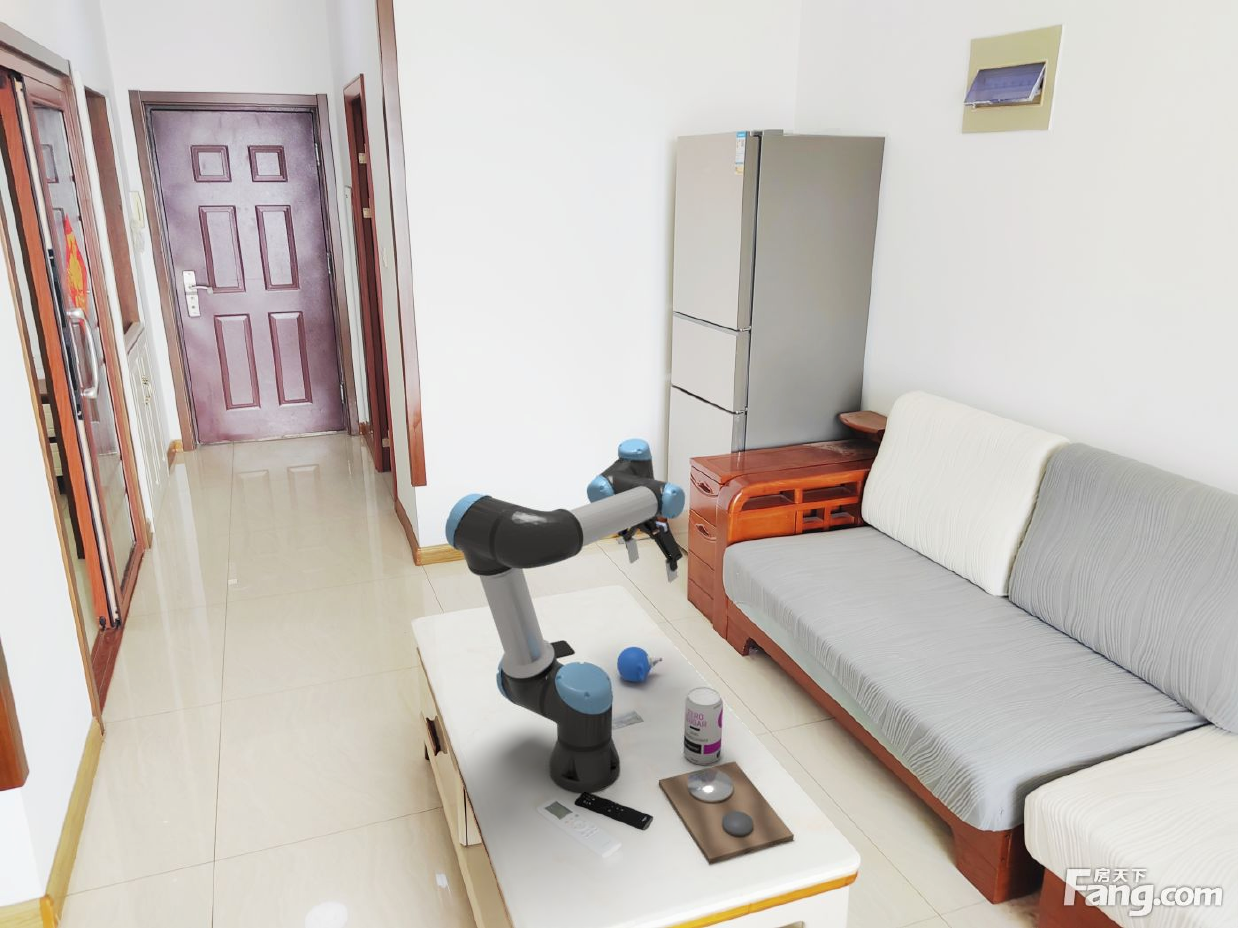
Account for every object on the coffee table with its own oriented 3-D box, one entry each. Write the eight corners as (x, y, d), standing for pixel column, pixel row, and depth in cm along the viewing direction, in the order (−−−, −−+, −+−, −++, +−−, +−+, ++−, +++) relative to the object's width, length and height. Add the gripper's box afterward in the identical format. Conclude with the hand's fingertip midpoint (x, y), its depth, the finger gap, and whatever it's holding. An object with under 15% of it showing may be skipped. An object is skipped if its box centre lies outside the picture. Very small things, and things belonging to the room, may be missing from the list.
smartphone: (564, 641, 243) (509, 654, 236) (564, 638, 243) (509, 651, 236) (576, 655, 236) (520, 668, 229) (576, 652, 236) (520, 665, 229)
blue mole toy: (670, 686, 221) (671, 656, 219) (625, 693, 218) (625, 663, 215) (654, 662, 232) (654, 633, 230) (610, 669, 229) (611, 640, 226)
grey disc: (730, 839, 168) (731, 835, 168) (716, 819, 174) (716, 815, 174) (758, 832, 171) (758, 827, 170) (743, 812, 176) (743, 807, 176)
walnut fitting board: (709, 863, 164) (709, 858, 164) (658, 784, 185) (658, 779, 185) (793, 839, 170) (793, 834, 170) (734, 765, 192) (735, 761, 191)
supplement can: (720, 744, 199) (723, 686, 194) (720, 767, 191) (723, 707, 186) (684, 742, 200) (686, 684, 195) (683, 765, 192) (684, 705, 187)
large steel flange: (699, 807, 177) (699, 803, 177) (679, 778, 185) (679, 774, 185) (741, 796, 180) (741, 792, 180) (720, 768, 189) (720, 764, 188)
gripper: (690, 507, 206) (700, 579, 216) (617, 477, 223) (629, 545, 233) (669, 523, 202) (679, 595, 212) (595, 491, 218) (609, 560, 229)
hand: (653, 569), depth 223 cm, fingers open, 13 cm apart
